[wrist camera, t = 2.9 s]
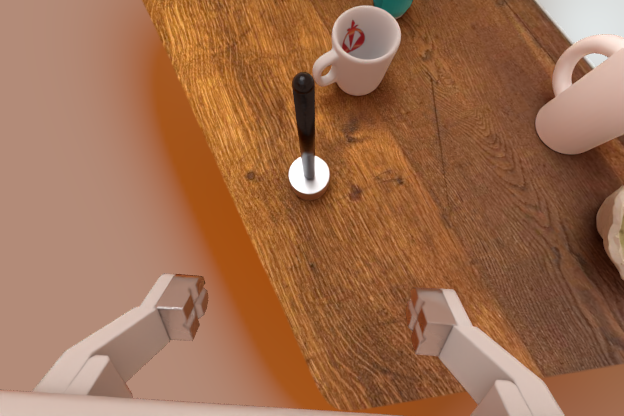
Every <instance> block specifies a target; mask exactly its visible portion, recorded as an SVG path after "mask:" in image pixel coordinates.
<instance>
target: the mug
mask: <svg viewBox="0 0 624 416" xmlns="http://www.w3.org/2000/svg"><path fill="white" fill-rule="evenodd" d="M591 53H598V54H602V55H605V56H607V57H608V59H607V60H605V61H604V62H603V63H601V64H600V65H598V66H597V67H596V68H594V69H593V70H592V71H590V72H589V73H588V74H586V75H585V76H583V77H582V78H581V79H579V80H578V81H577V82H575V83H574V84H573V85H572V81H571V76H572V71H573V69H574V67H575V65H576V63H577V62H578V61H579V60H580V59H581V58H582V57H584V56H586V55H588V54H591ZM552 86H553V91H554V94H555V98H553V99H552V100H551V101H549V102H548V103H547V104H545V105H544V106H543V107H542V108H541V109H540V110H539V112H538V114H537V116H536V121H535V126H536V131H537V133H538V135H539V137H540V139H541V140H542V141H543V143H545V144H546V145H547V146H548V147H549V148H551V149H552V150H554V151H557V152H559V153H563V154H580V153H583V152H585V151H588V150H590V149H592V148H594V147H596V146H599V145H601V144H603V143H605V142H608V141H610V140H612V139H614V138H616V137H619V136H621V135H623V134H624V38H623V37H620V36H617V35H610V34H602V35H593V36H590V37H586V38H584V39H582V40H580V41H578V42H576V43H575V44H573V45H572V46H571V47H569V48H568V49H567V50H566V51H565V52H564V53H563V54H562V55H561V57H560V58H559V60H558V61H557V63H556V66H555V68H554V71H553V77H552Z"/></svg>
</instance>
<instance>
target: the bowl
mask: <svg viewBox="0 0 624 416" xmlns="http://www.w3.org/2000/svg"><path fill="white" fill-rule="evenodd" d="M596 221H597V229H598V233H599V234H600V236H601V237H602V238H603V244H604V249H605V251H606V253H607V255H608V256H609V258H610V260H611V261H612V262H613V264H614V265H615V266H616V268H617V269H618V271H619V273H620V276H621V278H622V279H623V280H624V185H623V186H621V187H620V188H619V189H618V190H617V191H615V192H614V193H613V194H611V195H610V196H608V197H607V198H606V199H605V201H604V202H603V204H602V205H601V207H600V208H599V210H598V213H597V217H596Z"/></svg>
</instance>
